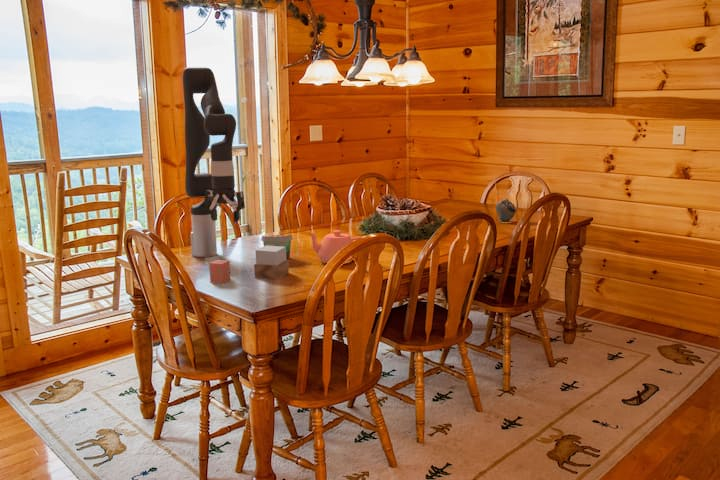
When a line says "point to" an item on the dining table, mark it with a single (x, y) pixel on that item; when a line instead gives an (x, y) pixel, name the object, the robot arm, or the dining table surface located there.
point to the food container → (279, 242)
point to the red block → (220, 271)
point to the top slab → (271, 255)
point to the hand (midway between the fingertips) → (225, 221)
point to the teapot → (331, 244)
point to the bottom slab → (271, 270)
